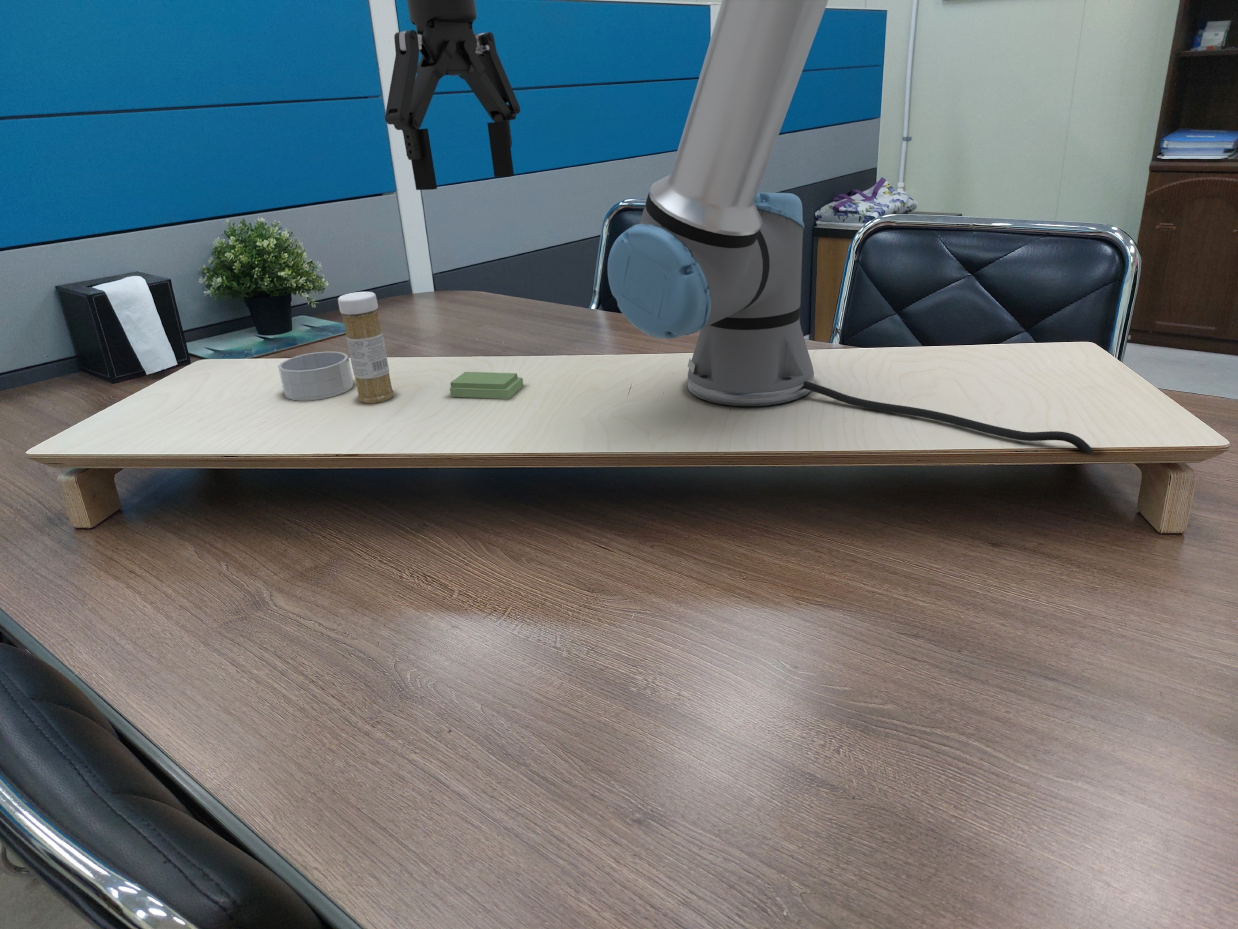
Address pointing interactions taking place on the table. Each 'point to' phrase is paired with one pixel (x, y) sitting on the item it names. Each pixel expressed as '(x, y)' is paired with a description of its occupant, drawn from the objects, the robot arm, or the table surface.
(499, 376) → the green stepped block
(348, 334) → the spice jar
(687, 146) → the robot arm
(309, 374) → the grey short cylinder
